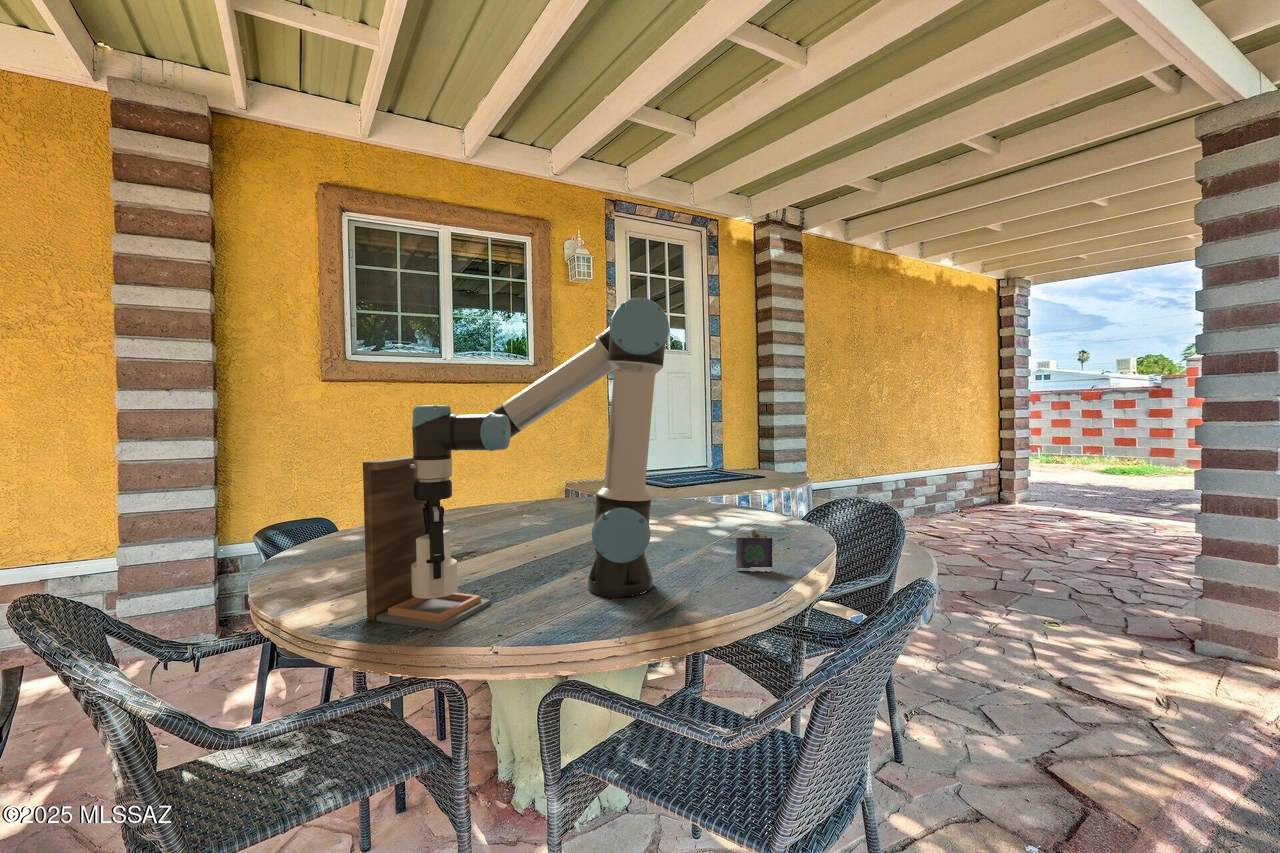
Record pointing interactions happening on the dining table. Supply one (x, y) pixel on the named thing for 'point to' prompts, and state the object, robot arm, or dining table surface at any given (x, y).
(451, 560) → the cylinder with rectangular tab
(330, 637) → the dining table surface
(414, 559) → the brown wooden panel
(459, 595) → the square coaster tray
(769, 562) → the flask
